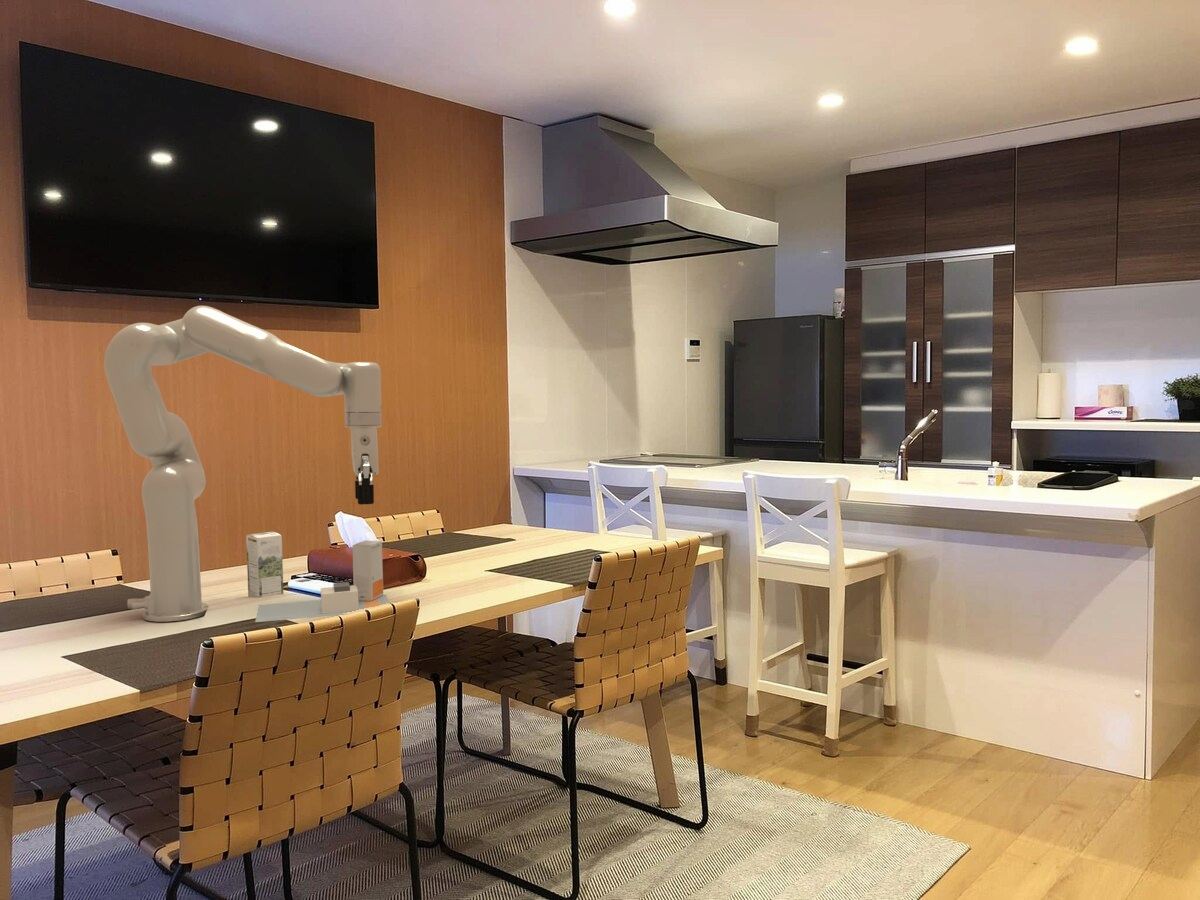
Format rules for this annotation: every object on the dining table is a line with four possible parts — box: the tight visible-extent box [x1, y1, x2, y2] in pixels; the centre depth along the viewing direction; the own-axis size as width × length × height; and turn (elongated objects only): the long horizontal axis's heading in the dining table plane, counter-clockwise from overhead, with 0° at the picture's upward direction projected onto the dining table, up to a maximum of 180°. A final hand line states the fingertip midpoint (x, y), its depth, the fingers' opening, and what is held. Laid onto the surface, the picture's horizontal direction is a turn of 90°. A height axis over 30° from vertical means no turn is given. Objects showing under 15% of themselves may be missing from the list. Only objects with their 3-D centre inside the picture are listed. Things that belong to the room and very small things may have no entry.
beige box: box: [320, 581, 359, 614], centre depth 188 cm, size 7×6×5 cm
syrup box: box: [245, 531, 285, 598], centre depth 204 cm, size 6×6×14 cm
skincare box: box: [352, 540, 384, 601], centre depth 197 cm, size 6×4×12 cm
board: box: [254, 593, 390, 623], centre depth 190 cm, size 26×15×1 cm, turn 108°
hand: (364, 501), depth 196 cm, fingers open, 9 cm apart
